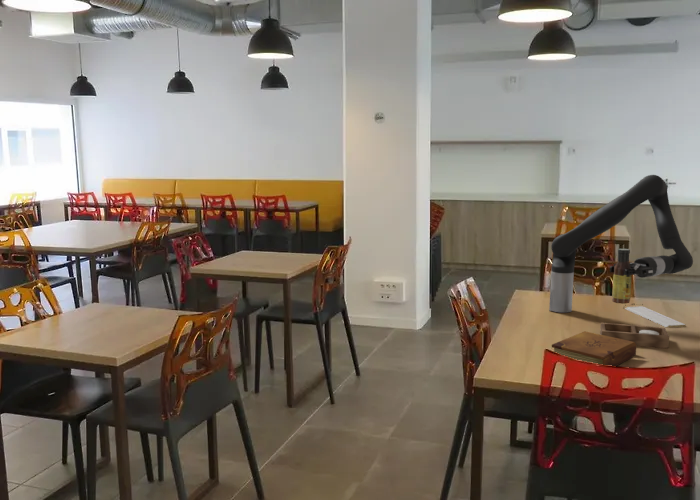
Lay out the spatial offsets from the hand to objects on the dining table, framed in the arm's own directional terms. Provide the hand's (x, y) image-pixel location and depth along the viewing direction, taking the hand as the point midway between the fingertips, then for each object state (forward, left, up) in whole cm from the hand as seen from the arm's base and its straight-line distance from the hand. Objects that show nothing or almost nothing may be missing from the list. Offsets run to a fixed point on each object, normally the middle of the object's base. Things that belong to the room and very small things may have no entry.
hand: (618, 271), depth 240 cm
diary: (-8, -25, -26) cm, 38 cm away
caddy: (+6, -2, -26) cm, 27 cm away
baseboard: (+17, +38, -27) cm, 50 cm away
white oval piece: (+12, -2, -25) cm, 28 cm away
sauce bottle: (+2, +2, -12) cm, 12 cm away
